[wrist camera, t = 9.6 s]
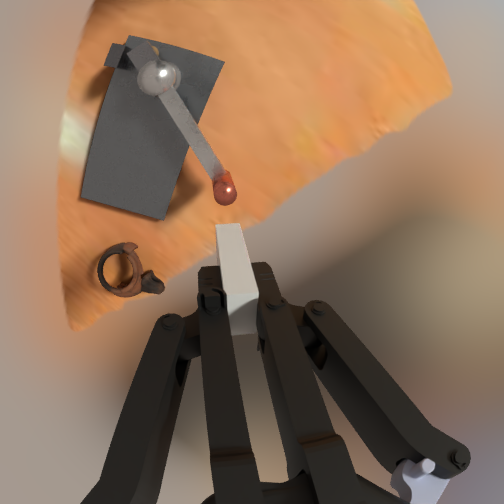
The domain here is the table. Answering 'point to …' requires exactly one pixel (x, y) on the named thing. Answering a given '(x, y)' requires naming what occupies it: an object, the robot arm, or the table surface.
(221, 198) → the lever
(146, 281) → the pottery mug
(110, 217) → the table surface
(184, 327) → the robot arm
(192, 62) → the base board
